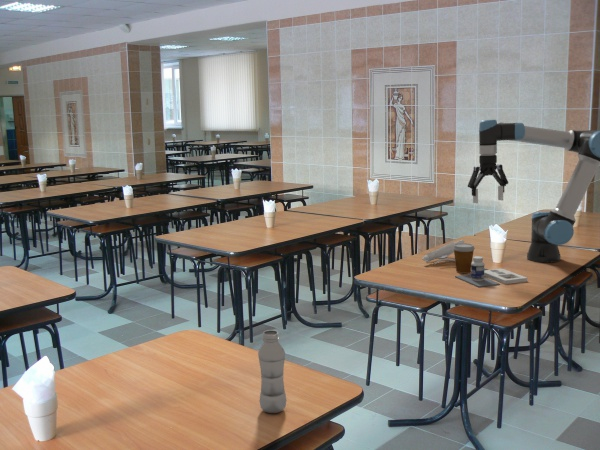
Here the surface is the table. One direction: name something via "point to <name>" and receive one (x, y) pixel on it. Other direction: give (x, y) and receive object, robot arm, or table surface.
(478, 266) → the pill bottle
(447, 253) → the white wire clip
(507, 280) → the socket strip
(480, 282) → the rubber mat
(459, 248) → the disposable coffee cup
